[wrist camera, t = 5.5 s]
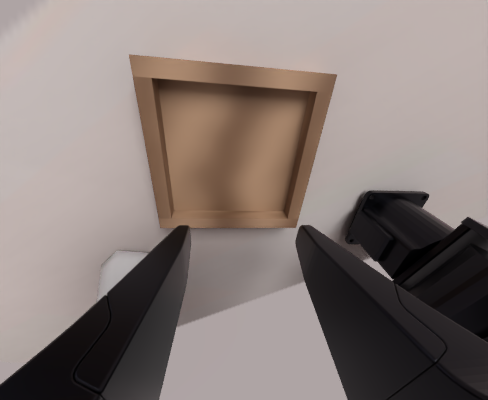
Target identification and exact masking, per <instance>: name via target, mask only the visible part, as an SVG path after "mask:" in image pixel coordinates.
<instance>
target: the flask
mask: <svg viewBox="0 0 488 400" xmlns="http://www.w3.org/2000/svg"><path fill="white" fill-rule="evenodd" d="M147 254H149V253H146V252H132V251H118V250H117V251H116V252H115V253H114V254H113V255H112V256H111V257H110V258H109V259H107V260H106V261H105V262H104V263H103V264H102V266H101V272H100V280H99V288H98V295H97V301H96V303H97V302H98V301H99V300H100V299H101V298H102V297H103V296H104V295H107V292H108V291H109V290H111V289H112V288H113V287H114V286H115V285H116V284H117V283H118V282H119V281H120V280H121V279H122V278H123V277H124V276H125V275H126V274H127V273H128V272H130V271H131V270H132V269H133V268H134V267H135V266H136V265H137V264H138V263H139V262H140V261H141V260H142V259H143V258H144V257H145V256H146V255H147Z"/></svg>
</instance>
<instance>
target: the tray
mask: <svg viewBox="0 0 488 400" xmlns="http://www.w3.org/2000/svg"><path fill="white" fill-rule="evenodd" d="M129 58H130V63H131V69H132V74H133V80H134V85H135V91H136V96H137V102H138V107H139V113H140V118H141V124H142V129H143V135H144V140H145V146H146V151H147V157H148V162H149V168H150V173H151V179H152V184H153V190H154V195H155V201H156V206H157V212H158V217H159V223H160V228H176V227H177V226H179V225H189V227H190V228H296V226H297V222H298V218H299V215H300V211H301V207H302V203H303V200H304V196H305V192H306V189H307V185H308V181H309V177H310V174H311V170H312V166H313V163H314V159H315V155H316V151H317V148H318V144H319V140H320V136H321V133H322V129H323V125H324V122H325V118H326V114H327V110H328V107H329V103H330V99H331V96H332V92H333V88H334V84H335V81H336V77H337V75H336V74H326V73H316V72H305V71H295V70H284V69H274V68H264V67H253V66H243V65H232V64H222V63H212V62H201V61H191V60H181V59H170V58H160V57H149V56H139V55H129Z"/></svg>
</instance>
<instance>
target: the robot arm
mask: <svg viewBox="0 0 488 400" xmlns="http://www.w3.org/2000/svg"><path fill="white" fill-rule="evenodd" d="M371 195H372V196H371ZM370 196H371V197H370ZM428 198H429V194H427V193H425V192H416V191H368V192H367V193H366V194H365V196H364V198H363V200H362V202H361V205H360V207H359V209H358V211H357V214H356V216H355V218H354V220H353V222H352V225H351V227H350V229H349V231H348V234H347V236H346V238H345V241H346V242H347V243H348V244H360V245H361V246H362V247H363V248H364V249H365V251H366V252H367V253H368V254H369V255H370V257H371V258H372V259H373V260H374V261H377V262H378V263H379V264H380V265H381V266H382V268H383V269H384V270H385V271H386V272H387V273H388V275H389V276H390V277H391V278H392V279H394V280H393V281H391V280H389V279H388V278H387V277H385V276H384V275H382V274H381V273H379V272H378V271H376V270H375V269H373V268H372V267H370V266H369V265H367V264H366V263H365V262H363V261H362V260H360V259H359V258H357V257H356V256H354V255H353V254H352V253H350V252H349V251H347V250H346V249H344V248H343V247H341V246H340V245H338V244H337V243H336V242H334V241H333V240H331V239H330V238H328V237H327V236H325V235H324V234H322V233H321V232H319V231H318V230H317V229H315V228H314V227H312V226H310V225H301V226H300V227H299V230H298V234H297V237H296V248H297V252H298V257H299V261H300V265H301V269H302V273H303V277H304V280H305V283H306V286H307V289H308V291H309V294H310V297H311V300H312V302H313V305H314V308H315V311H316V313H317V316H318V319H319V322H320V325H321V327H322V330H323V333H324V336H325V338H326V341H327V344H328V347H329V349H330V352H331V355H332V357H333V360H334V363H335V366H336V369H337V371H338V374H339V377H340V379H341V382H342V385H343V388H344V391H345V393H346V396H347V399H348V400H488V227H487V226H485V225H483V224H481V223H479V222H477V221H475V220H473V219H471V218H469V217H467V218H466V219H464V220H463V221H462V222H461V223H462V224H461V225H460V226H458V227H457V228H456V229H453V228H452V227H450V226H449V225H447V224H446V223H444V222H443V221H441V220H440V219H438V218H436V217H435V216H433V215H432V214H430V213H429V212H427V211H426V210H424V209H423V208H422V207H423V206H424V204H425V203H426V201H427V200H428ZM190 250H191V235H190V227H189V225H179V226H177V227H176V228H175V229H174V230H173V231H172V232H171V233H170V234H169V235H168V236H166V237H165V238H164V239H163V240H162V241H161V242H160V243H159V244H158V245H157V246H156V247H155V248H154V249H153V250H152V251H151V252H150V253H149V254H147V255H146V256H145V257H144V258H143V259H142V260H141V261H140V262H139V263H138V264H137V265H136V266H135V267H134V268H133V269H132V270H131V271H130V272H128V273H127V274H126V275H125V276H124V277H123V278H122V279H121V280H120V281H119V282H118V283H117V284H116V285H115V286H114V287H113V288H112V289H111V290H109V291H108V292H107V295H104V296H103V297H102V298H101V299H100V300H99V301H98V302H97V303H96V304H95V305H93V306H92V307H91V308H90V309H89V310H88V311H87V312H86V313H85V314H84V315H82V316H81V317H80V318H79V319H78V320H77V321H76V322H75V323H74V324H73V325H71V326H70V327H69V328H68V329H67V330H65V331H64V332H63V333H62V334H61V335H60V336H58V337H57V338H56V339H55V340H54V341H52V342H51V343H50V344H49V345H48V346H47V347H45V348H44V349H43V350H42V351H40V352H39V353H38V354H37V355H36V356H34V357H33V358H32V359H31V360H30V361H28V362H27V363H26V364H25V365H24V366H22V367H21V368H20V369H19V370H17V371H16V372H15V373H14V374H13V375H12V376H10V377H9V378H8V379H7V380H5V381H4V382H3V383H2V384H0V400H159V397H160V393H161V389H162V385H163V381H164V376H165V372H166V368H167V363H168V360H169V355H170V351H171V347H172V343H173V339H174V335H175V330H176V326H177V322H178V318H179V314H180V309H181V305H182V301H183V297H184V293H185V288H186V283H187V277H188V268H189V259H190Z"/></svg>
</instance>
